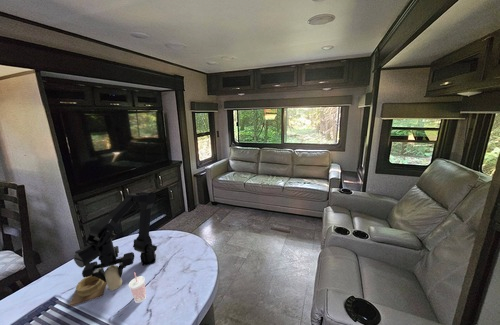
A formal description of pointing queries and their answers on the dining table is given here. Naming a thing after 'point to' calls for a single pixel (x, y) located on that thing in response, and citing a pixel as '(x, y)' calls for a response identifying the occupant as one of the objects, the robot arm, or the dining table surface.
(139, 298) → the beverage cup
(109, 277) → the candle
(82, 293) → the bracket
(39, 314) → the dining table surface
